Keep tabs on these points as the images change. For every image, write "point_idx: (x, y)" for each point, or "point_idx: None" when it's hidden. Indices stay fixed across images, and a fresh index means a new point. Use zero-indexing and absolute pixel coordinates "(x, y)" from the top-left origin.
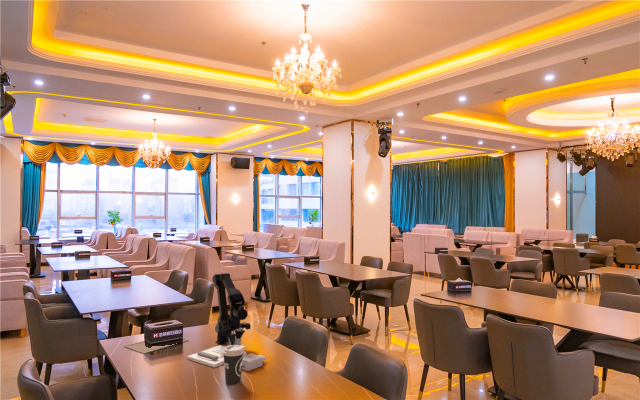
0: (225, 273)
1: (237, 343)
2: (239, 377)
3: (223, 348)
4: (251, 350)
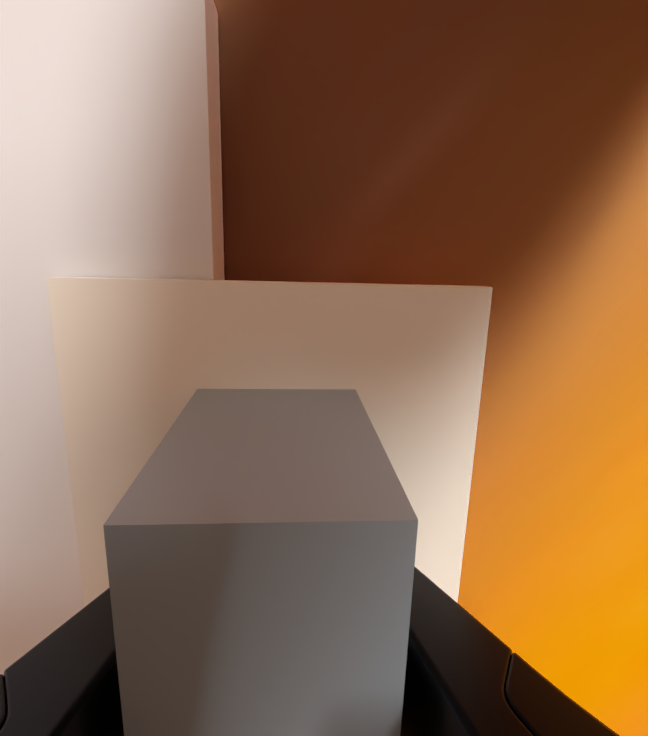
0: None
1: None
2: None
3: (49, 323)
4: None
